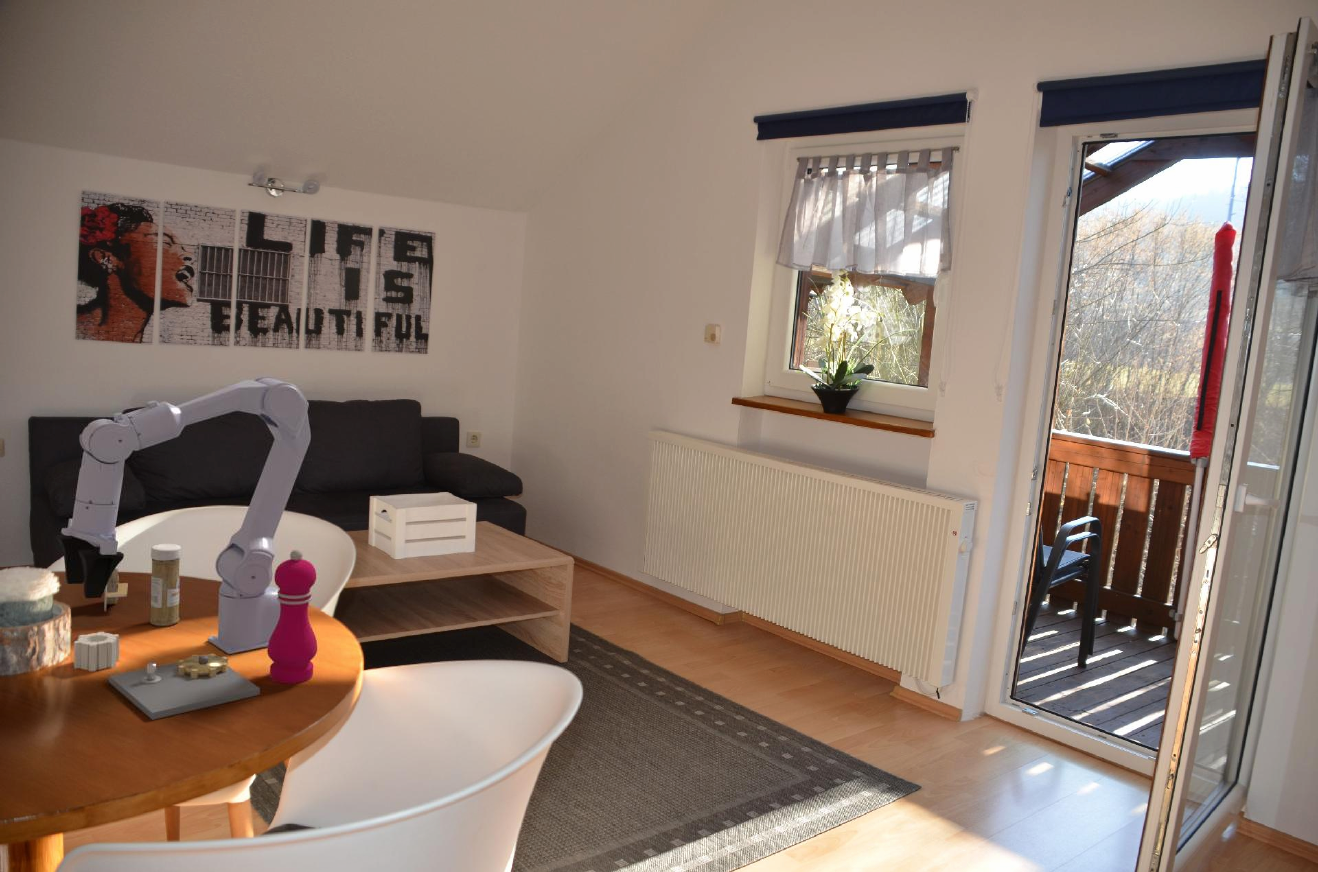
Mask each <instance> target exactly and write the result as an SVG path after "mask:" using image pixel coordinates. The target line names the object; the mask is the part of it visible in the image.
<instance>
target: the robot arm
mask: <svg viewBox="0 0 1318 872" xmlns="http://www.w3.org/2000/svg"><path fill="white" fill-rule="evenodd" d="M309 405H310V403H309V402H308V400H307V399H306V397H305V395H304V393H303V392H302V391H301V389H300V388H298V386H296V385H295V384H293V383H290V382H285V381H282V380H279V379H276V378H275V377H273V376H268V375H266V376H260V377H259V376H258V377H257V378H255V379H245V380H242V381H240V382H237V383H235V384H231V385H229V386H226V387H224V388H221V389H219V390H216V391H213V392H210V393H207V394H205V395H202V396H200V397H197V398H194V399H192V400H189V401H186V402H184V403H181V404H178V405H173V404H171V403H169V402H167V401H162V402H161V401H160V402H158V401H156V400H150V401H147V402H146V407H142V408H138V409H137V410H133V411H131V412H126V413H124V414H123V413H122V412H116V413H114V414H113V420H111V419H106V418H100V419H96V420H93V421H91V422H89V423H88V425H87V426H85V427H84V429H83V431H82V433H80V434H79V444H80V446H81V448H82V449H83V450H84V451H83V453H82V459H81V467H80V468H79V473H78V480H77V487H76V493H75V500H74V504H73V505H74V506H73V513H72V518H69V519H68V523H67V524H68V525H67V527H62V528H61V534H62V535H58V536H57V541H58V543H59V545H60V548H61V551H62V554H63V559H64V561H63V562H64V570H65V572H64V573H65V581H66V584H68V585H79V584H80V585H81V584H83V594H84V598H86V599H100V598H101V599H102V596H103V594H105V588H106V586H107V583H108V581H109V579H110V577H111V575H112V573H113V571H114V570H115V568H117V567H118V566H119V564H120V563H121V562H122V561H123V560H124V557H125V554H124V553H123V552H121V551H118V545H119V541H118V540H117V539H116V538H117V536H116V535H117V531H116V526H117V525H116V524H117V518H118V511H119V506H120V499H121V498H120V497H121V493H122V492H121V491H122V486H123V480H124V479H123V478H124V468H125V460H127V459H128V458H129V457H130V456H131V454H133V451H136V452H137V451H140V450H142V449H146V448H149V447H152V446H155V445H157V444H160V443H164V442H167V441H169V440H172V439H175V438H178V437H179V436H180V435H181V432H182V431H183V430H184V428H185V427H186V426H188V425H192V424H196V423H199V422H202V421H205V420H208V419H212V418H216V417H218V416H219V417H220V416H222V415H226V414H230V413H232V412H242V413H248V414H254V415H258V417H259V418H261V419H262V420H263V421H264V422H265V424H266V426H267V427H268V430H269V431H270V433H271V434H272V436H273V438H274V440H273V443H272V446H271V448H270V451H269V453H268V456H267V459H266V461H265V464H264V466H263V469H262V471H261V475H260V477H259V479H258V482H257V485H256V487H255V490H254V493H253V495H252V497H251V501H250V504H249V507H248V509H247V511H246V513H245V516H244V518H243V522H242V524H241V527H240V528H239V529H238V531H236V532H235V533H234V534H233V535H232V536H231V537H230V540H229V542H228V544H227V545H226V547H225V548H224V549H223V550H222V551H220V553H219V554H218V555H217V557H216V560H215V566H214V567H215V571H216V573H217V576H219V578H221V579H222V582H221V584H220V586H219V589H218V590H219V591H218V616H217V618H218V621H217V635H212V636H208V637H207V642H208V641H209V642H210V643H212V644H213V645H214V646H216V647H217V648H218V649H220V650H222V651H223V652H224V653H226V654H228V655H229V654H230V655H231V654H236V653H241V652H245V651H250V650H255V649H260V648H266V647H267V648H268V643H269V640H270V637H271V635H272V633H273V631H274V629H275V627H276V625H277V623H278V620H279V617H280V609H281V608H280V602H279V601H278V600H277V597H278V594H277V592H278V591H279V589H278V588H277V587H275V586H270V585H271V583H272V581H273V561H274V559H275V547H274V546H275V545H274V539H275V538H274V537H275V535H276V532H277V530H278V528H279V524H280V522H281V520H282V517H283V513H284V512H285V508H286V506H287V503H288V501H289V498H290V495H291V493H292V490H293V487H294V486H295V483H296V479H297V477H298V474H299V473H300V470H301V467H302V463H303V462H304V459H305V456H306V454H307V451H308V447H309V446H310V443H311V439H312V437H311V434H312V433H311V428H310V422H309V414H308V410H309Z"/></svg>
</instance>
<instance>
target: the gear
mask: <svg viewBox="0 0 1318 872" xmlns="http://www.w3.org/2000/svg"><path fill="white" fill-rule="evenodd" d="M73 644H74V645H73V648H74V649H73V667H74V669H81V670H86V671H88V672H96V671H97V670H105V669H107V668H110V669H112V668H115V667H116V665H117V664H116V663H117V662H119V661H120V635H119V634H118V633H117V634H113V633H109V632H105V631H98V632H96V633H95V632H93V633H88V634H80V635H78V636H77V640H75V641H74V643H73Z"/></svg>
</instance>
